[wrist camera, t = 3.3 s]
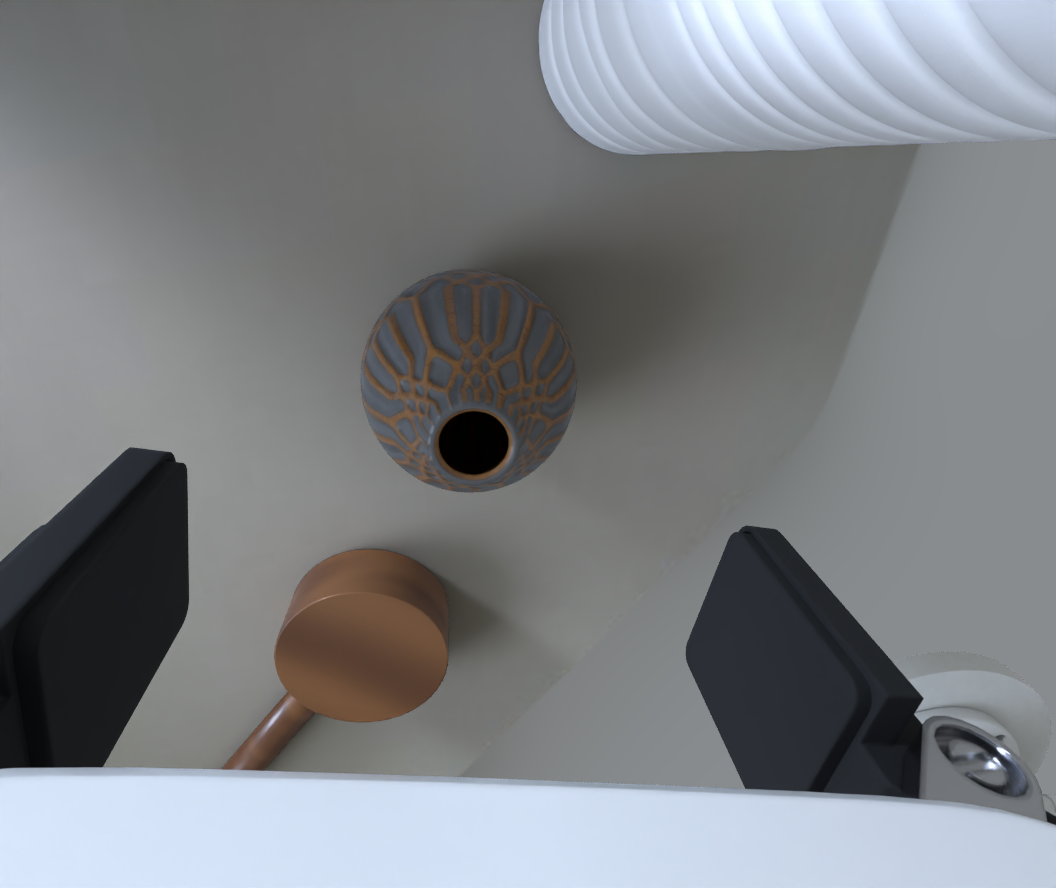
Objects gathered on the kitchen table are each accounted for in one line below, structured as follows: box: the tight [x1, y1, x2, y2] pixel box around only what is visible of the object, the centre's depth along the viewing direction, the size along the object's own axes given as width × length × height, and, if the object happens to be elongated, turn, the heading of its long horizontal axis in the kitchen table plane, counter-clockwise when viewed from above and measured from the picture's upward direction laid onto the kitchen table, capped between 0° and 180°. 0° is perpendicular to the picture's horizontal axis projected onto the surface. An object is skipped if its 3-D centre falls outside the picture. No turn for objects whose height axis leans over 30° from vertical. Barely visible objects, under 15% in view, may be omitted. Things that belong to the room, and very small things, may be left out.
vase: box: [361, 269, 577, 492], centre depth 20 cm, size 7×7×9 cm
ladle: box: [221, 549, 449, 771], centre depth 29 cm, size 24×7×3 cm, turn 140°
